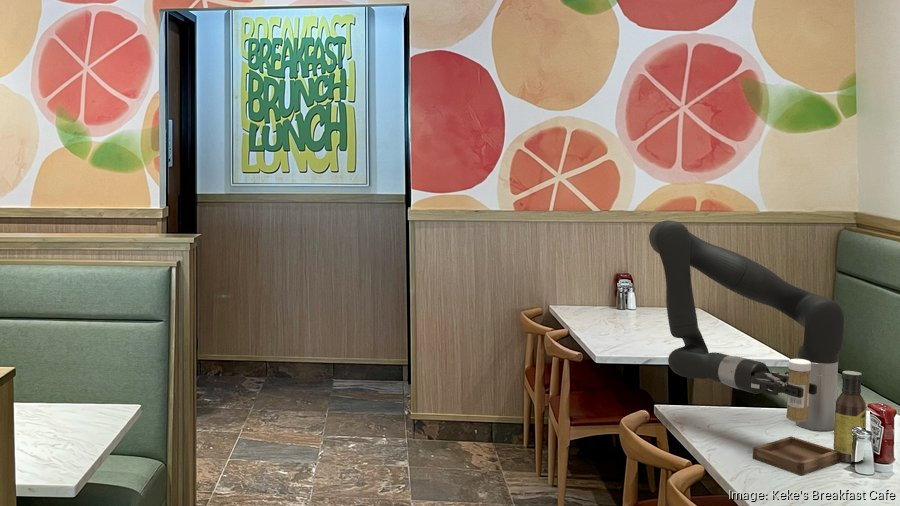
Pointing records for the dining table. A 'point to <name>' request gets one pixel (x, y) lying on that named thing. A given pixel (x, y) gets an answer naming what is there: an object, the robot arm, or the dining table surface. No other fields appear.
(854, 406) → the sauce bottle
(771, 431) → the dining table surface
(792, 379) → the sprinkles bottle
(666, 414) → the dining table surface
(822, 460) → the tray
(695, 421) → the dining table surface
